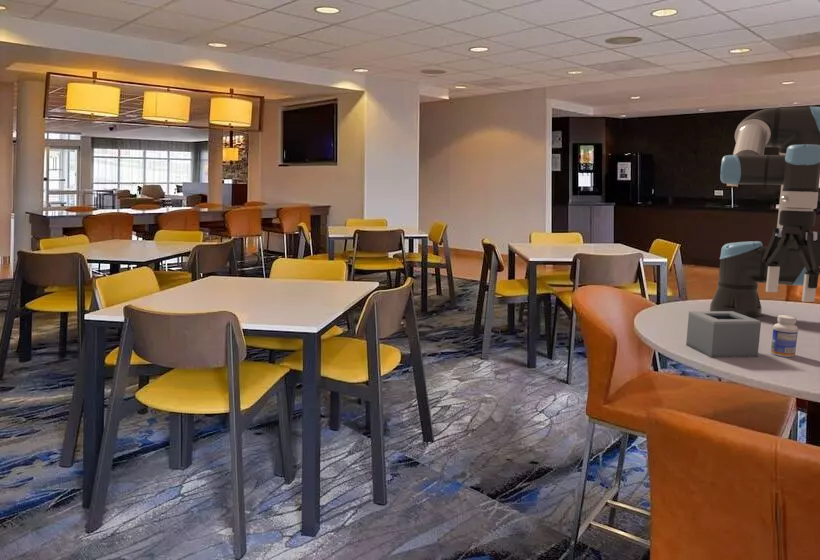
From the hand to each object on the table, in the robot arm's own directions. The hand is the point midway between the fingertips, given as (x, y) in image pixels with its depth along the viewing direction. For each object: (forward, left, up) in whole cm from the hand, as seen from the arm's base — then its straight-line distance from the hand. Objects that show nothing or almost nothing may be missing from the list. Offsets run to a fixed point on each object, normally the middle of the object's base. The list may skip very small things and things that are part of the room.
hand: (788, 296), depth 162 cm
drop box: (+14, -4, -15) cm, 21 cm away
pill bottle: (0, 0, -15) cm, 15 cm away
